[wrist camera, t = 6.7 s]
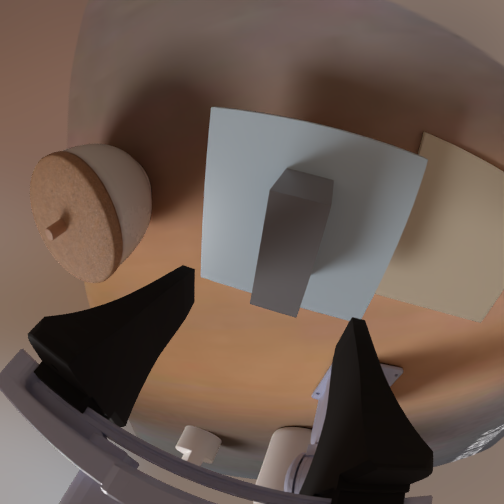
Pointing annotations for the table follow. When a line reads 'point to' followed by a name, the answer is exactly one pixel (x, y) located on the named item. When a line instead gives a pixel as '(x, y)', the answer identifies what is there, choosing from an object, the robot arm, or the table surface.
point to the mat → (451, 236)
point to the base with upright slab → (198, 445)
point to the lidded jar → (91, 208)
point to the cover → (302, 211)
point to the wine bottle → (282, 456)
